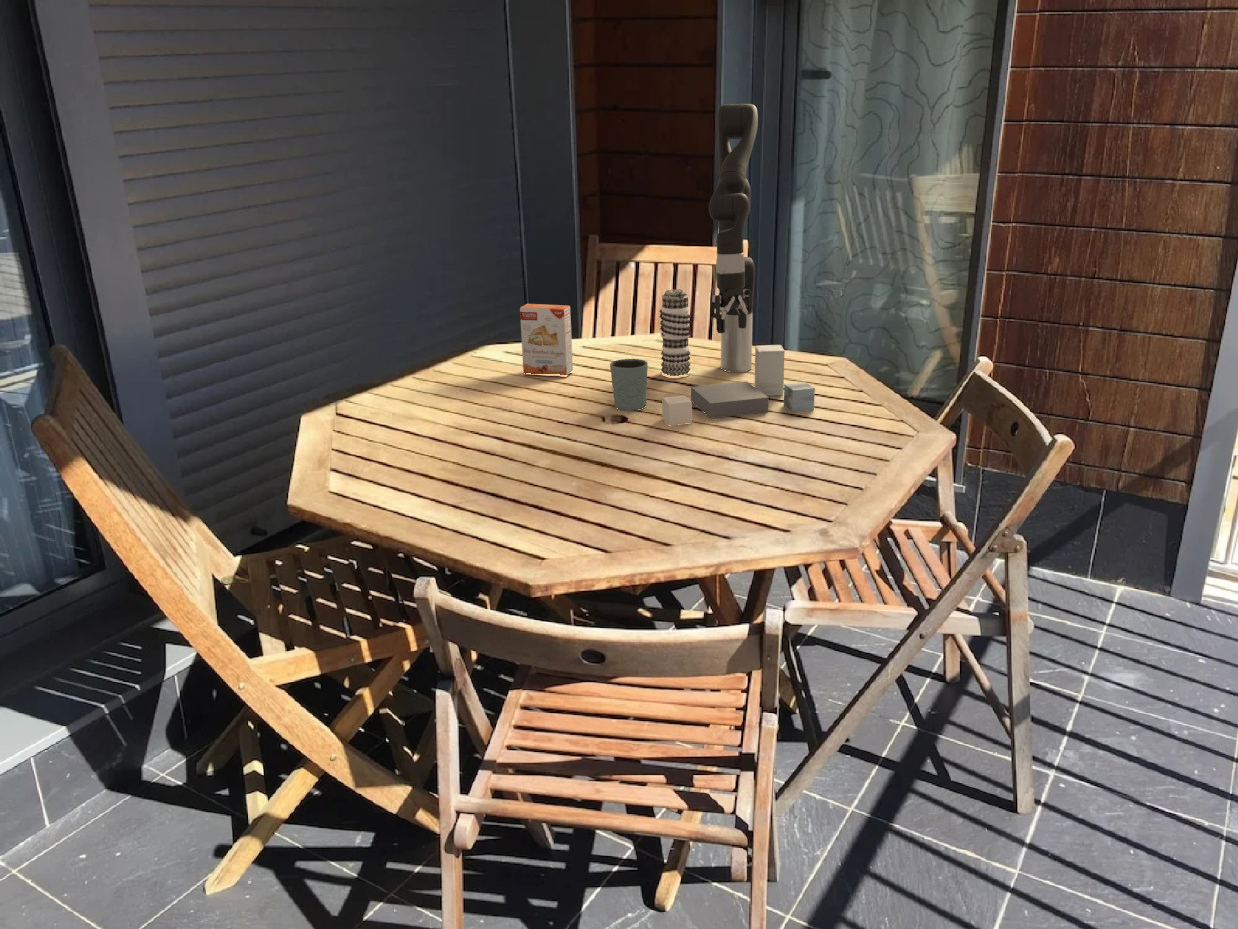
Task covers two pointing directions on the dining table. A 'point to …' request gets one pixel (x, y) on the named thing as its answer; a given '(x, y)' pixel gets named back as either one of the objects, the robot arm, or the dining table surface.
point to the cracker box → (546, 339)
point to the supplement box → (769, 369)
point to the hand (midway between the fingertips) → (731, 330)
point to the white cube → (676, 410)
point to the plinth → (729, 399)
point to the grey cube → (799, 397)
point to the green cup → (629, 383)
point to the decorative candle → (675, 332)
